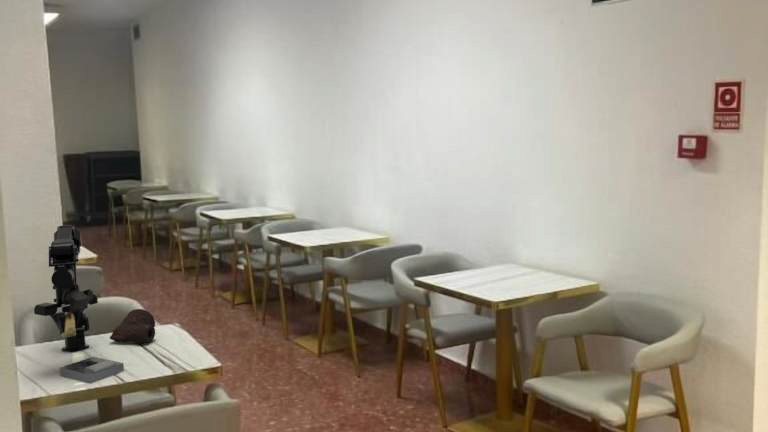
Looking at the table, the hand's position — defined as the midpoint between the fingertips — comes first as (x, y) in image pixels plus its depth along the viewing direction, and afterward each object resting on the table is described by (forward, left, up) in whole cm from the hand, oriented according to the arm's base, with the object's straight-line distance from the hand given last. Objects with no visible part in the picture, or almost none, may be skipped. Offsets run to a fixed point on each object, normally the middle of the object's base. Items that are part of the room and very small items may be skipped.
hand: (68, 331), depth 229 cm
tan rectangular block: (0, 0, -1) cm, 1 cm away
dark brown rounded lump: (-6, +31, -12) cm, 34 cm away
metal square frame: (+11, -1, -12) cm, 16 cm away
